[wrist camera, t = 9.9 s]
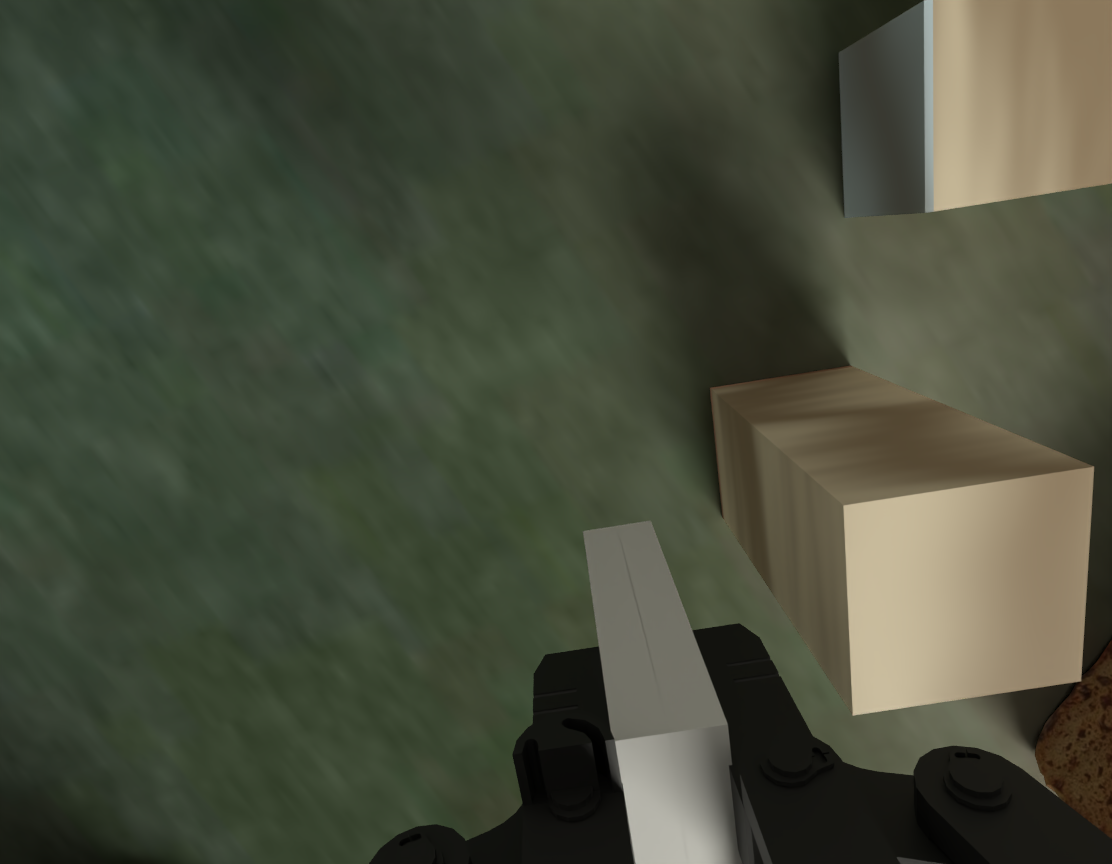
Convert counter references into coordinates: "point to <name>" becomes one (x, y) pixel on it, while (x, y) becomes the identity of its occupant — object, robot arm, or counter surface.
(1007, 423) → the counter surface
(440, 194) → the counter surface
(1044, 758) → the bread
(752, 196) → the counter surface
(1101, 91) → the light wood rectangular bar
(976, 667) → the light wood tall block
